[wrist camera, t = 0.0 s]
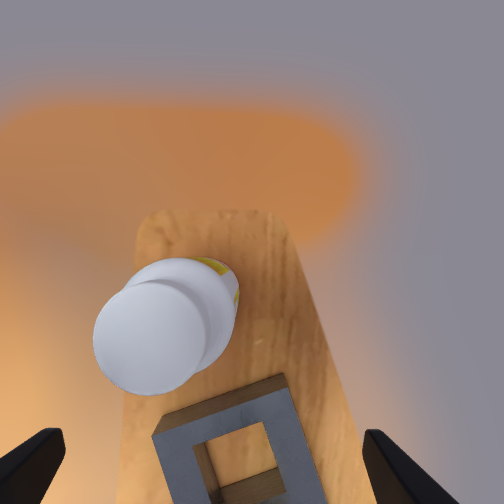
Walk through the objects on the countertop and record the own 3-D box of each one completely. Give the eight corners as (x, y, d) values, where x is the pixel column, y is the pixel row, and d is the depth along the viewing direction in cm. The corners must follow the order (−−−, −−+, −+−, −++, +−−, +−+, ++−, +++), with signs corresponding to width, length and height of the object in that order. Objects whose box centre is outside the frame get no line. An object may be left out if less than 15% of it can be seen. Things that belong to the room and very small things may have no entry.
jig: (339, 536, 22) (350, 571, 20) (217, 582, 22) (213, 623, 19) (283, 372, 22) (287, 387, 20) (162, 416, 22) (151, 436, 20)
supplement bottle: (159, 274, 22) (40, 295, 10) (223, 246, 23) (190, 230, 10) (187, 338, 22) (104, 448, 10) (251, 310, 23) (255, 380, 10)
